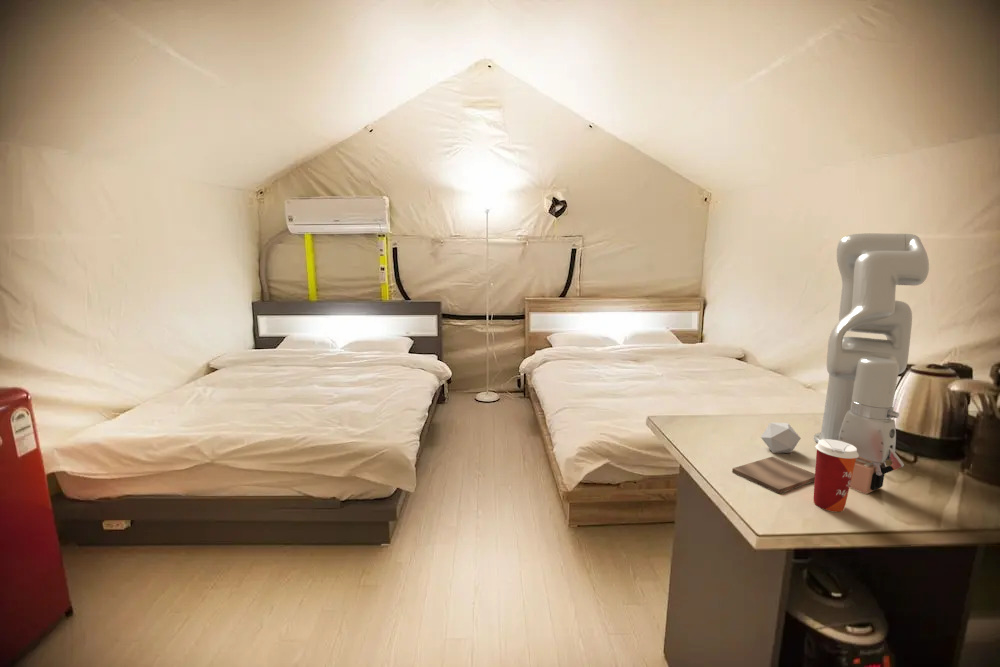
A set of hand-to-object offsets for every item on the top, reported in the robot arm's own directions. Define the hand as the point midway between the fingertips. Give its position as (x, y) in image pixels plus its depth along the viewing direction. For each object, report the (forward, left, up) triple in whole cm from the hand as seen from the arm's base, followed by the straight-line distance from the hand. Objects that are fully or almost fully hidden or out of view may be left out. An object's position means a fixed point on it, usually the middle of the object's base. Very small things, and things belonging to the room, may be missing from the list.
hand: (859, 482), depth 114 cm
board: (+14, -12, -1) cm, 18 cm away
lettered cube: (0, 0, -1) cm, 1 cm away
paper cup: (+17, +2, -1) cm, 17 cm away
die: (-2, -21, -1) cm, 21 cm away
